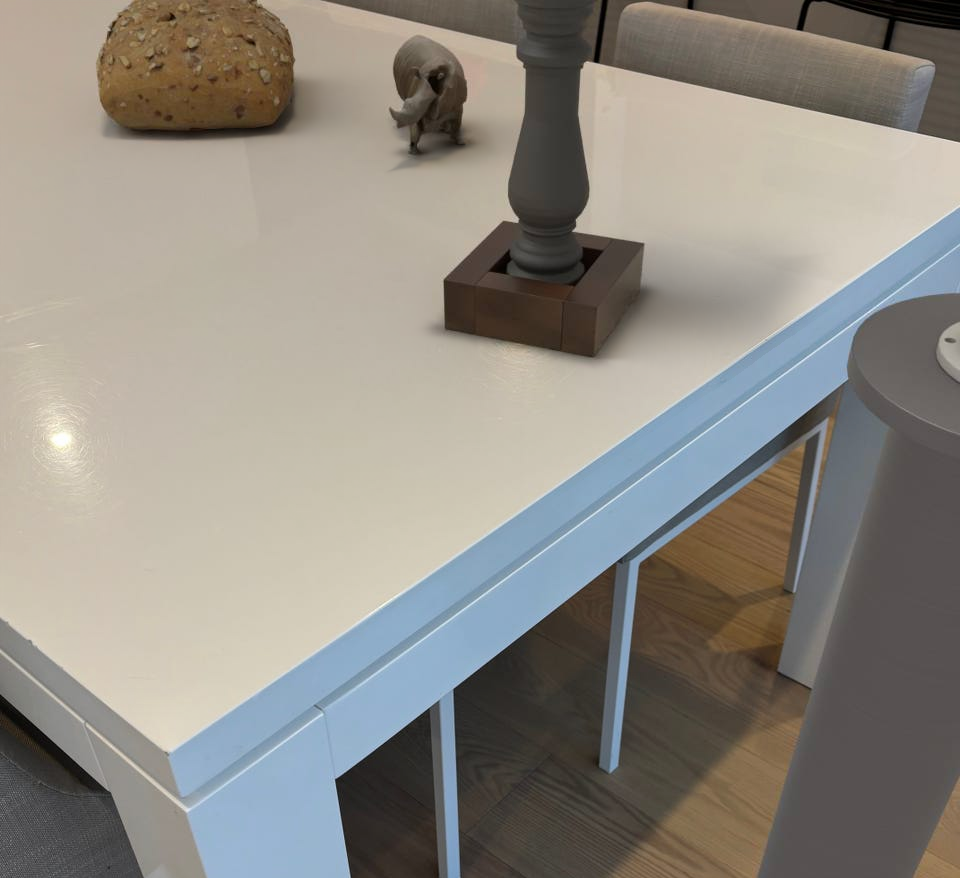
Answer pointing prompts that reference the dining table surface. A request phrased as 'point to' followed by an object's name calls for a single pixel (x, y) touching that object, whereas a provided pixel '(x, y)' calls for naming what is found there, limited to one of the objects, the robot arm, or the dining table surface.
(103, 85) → the bread
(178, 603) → the dining table surface
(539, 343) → the square frame
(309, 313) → the dining table surface
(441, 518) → the dining table surface
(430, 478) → the dining table surface
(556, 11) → the candle holder
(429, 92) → the rhinoceros figurine
